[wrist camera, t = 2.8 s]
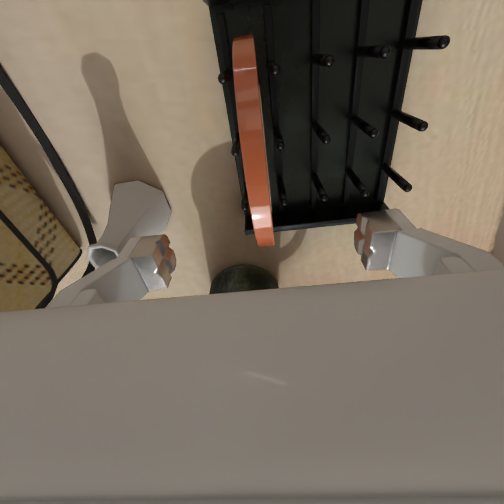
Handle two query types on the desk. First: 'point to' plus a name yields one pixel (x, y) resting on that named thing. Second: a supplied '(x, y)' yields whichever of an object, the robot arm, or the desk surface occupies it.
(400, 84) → the rack
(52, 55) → the desk surface
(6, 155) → the clutch purse
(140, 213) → the flask
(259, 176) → the plate
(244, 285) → the mug
